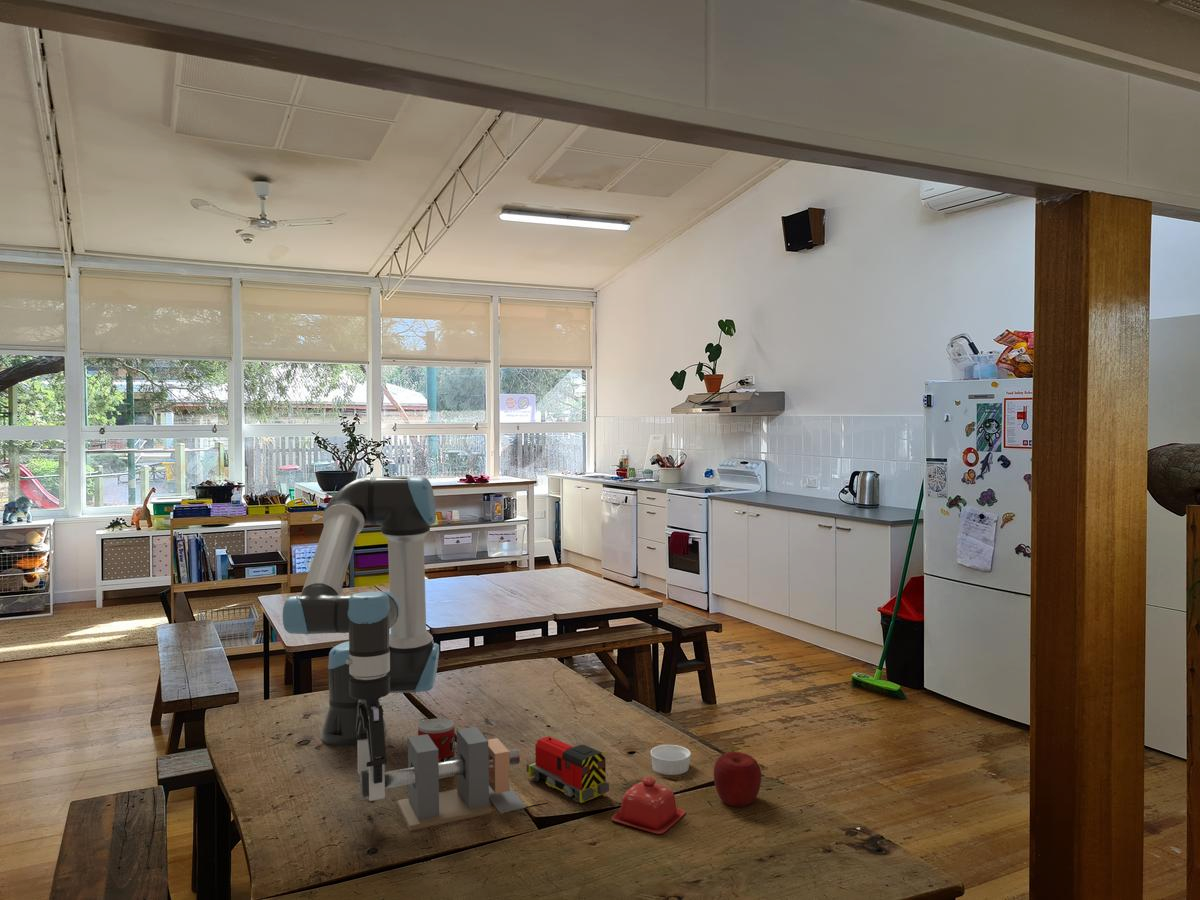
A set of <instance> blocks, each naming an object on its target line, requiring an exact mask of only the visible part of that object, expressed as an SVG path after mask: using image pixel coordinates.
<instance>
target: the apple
mask: <svg viewBox="0 0 1200 900" xmlns="http://www.w3.org/2000/svg"><path fill="white" fill-rule="evenodd" d="M713 782H714V786H715V790H716V792H717V794H718V796H719V799H721V801H722V803H723V804H725V805H727V806H731V807H739V808H741V807H745V806H749V805H751V804H752V803H753V802H754V801H755V800H756V798H757V797H758V795H759V791H760V788H761V785H762V770H761V766H760V764H759V763H758V761H757V760H756V759H755V758H754V757H752V756H751V755H749V754H747V753H744V752H739V751H728V752H727V751H726V752H724V753H722V754H721V755H720V756H719V757H717V759H716V761H715V764H714V768H713Z"/></svg>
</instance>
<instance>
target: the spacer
mask: <svg viewBox="0 0 1200 900" xmlns="http://www.w3.org/2000/svg"><path fill="white" fill-rule="evenodd" d="M487 740H488V750H489V755H490V756H491V757H492V758H493V769H490V770H489V786H490V787H491V789H492V790H493V791H494V792H495V794H497V793H502V792H507V791H510V779H511V777H510V774H511V772H510V770H511V769H510V767H511V766H510V755H509V750H510V749H508V748H507V747H506V746H505V745H504V744H503V742H501V740H500V739H499V738H498V737H495V738H490V739H487Z"/></svg>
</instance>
